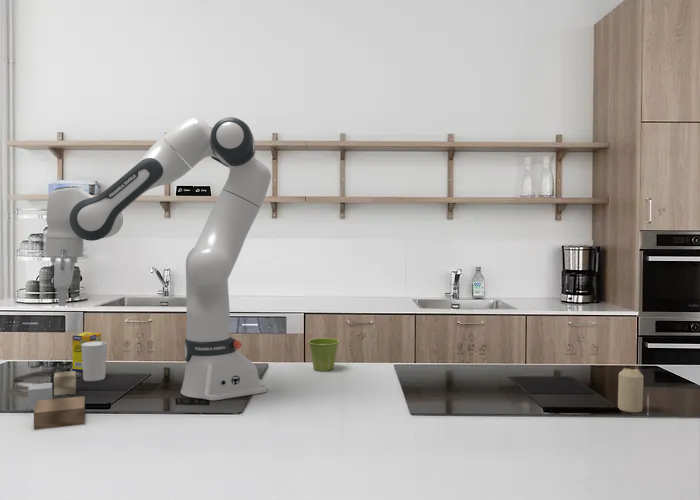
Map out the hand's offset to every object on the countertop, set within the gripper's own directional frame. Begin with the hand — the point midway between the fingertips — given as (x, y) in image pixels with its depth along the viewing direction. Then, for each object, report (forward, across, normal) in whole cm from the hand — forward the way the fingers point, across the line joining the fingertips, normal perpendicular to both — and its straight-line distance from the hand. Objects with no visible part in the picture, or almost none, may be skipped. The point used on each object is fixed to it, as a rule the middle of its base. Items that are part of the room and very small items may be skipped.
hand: (62, 303), depth 161 cm
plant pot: (+21, +2, -73) cm, 76 cm away
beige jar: (+19, -64, -129) cm, 145 cm away
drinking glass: (+24, +14, -8) cm, 29 cm away
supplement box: (+24, +26, -6) cm, 36 cm away
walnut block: (+24, -23, -1) cm, 33 cm away
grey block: (+24, -10, +4) cm, 26 cm away
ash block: (+24, +1, -1) cm, 24 cm away
